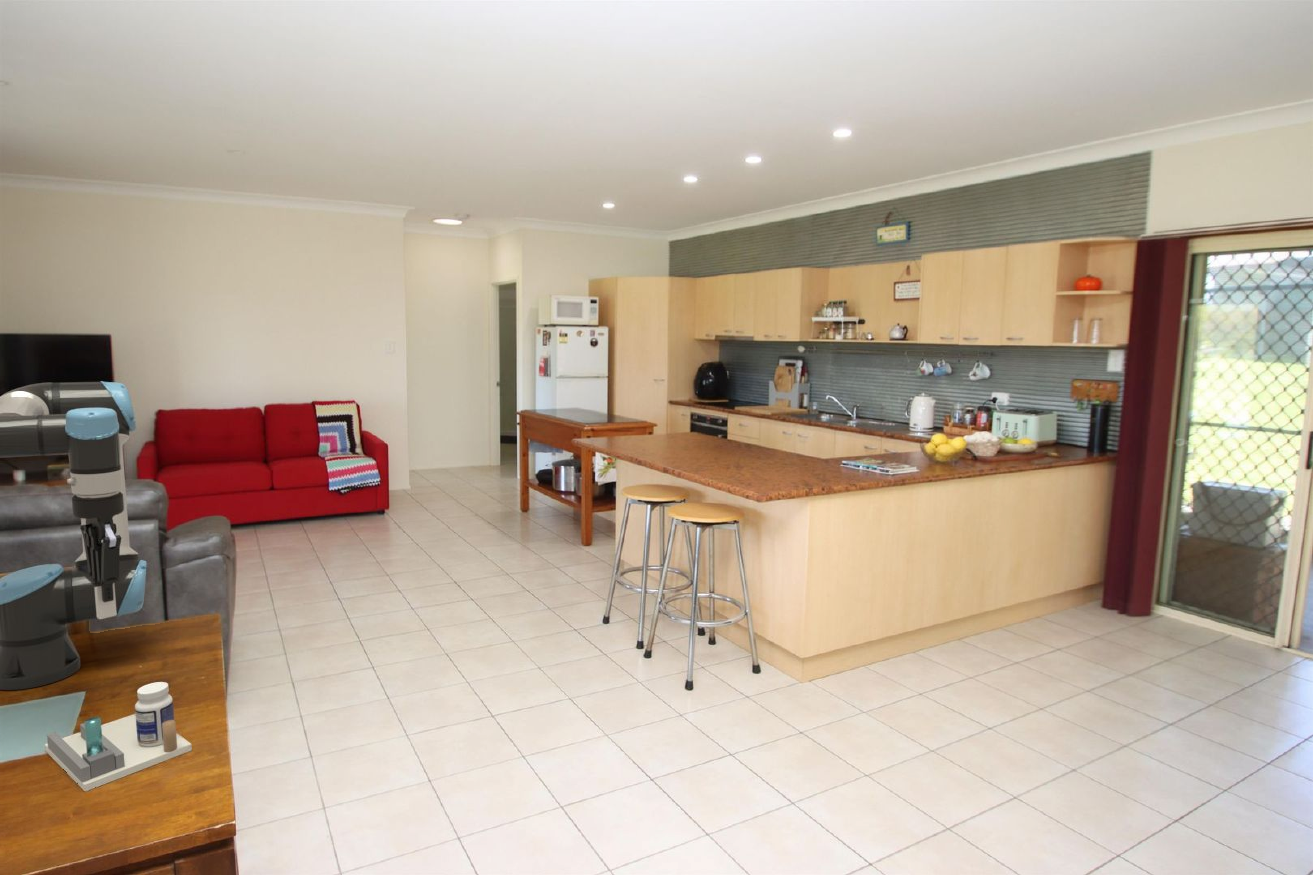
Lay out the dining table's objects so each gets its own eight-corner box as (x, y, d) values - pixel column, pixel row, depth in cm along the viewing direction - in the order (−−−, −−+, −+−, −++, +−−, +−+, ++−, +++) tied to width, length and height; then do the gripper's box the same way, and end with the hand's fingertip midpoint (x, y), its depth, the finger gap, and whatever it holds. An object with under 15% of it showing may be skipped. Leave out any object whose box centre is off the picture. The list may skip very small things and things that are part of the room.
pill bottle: (169, 727, 140) (165, 677, 139) (180, 738, 137) (176, 686, 135) (132, 739, 136) (129, 687, 135) (143, 751, 132) (139, 697, 131)
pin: (83, 767, 127) (79, 720, 126) (102, 760, 129) (99, 714, 128) (89, 773, 125) (85, 725, 124) (109, 765, 128) (105, 719, 127)
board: (45, 750, 134) (42, 717, 133) (146, 715, 147) (144, 685, 146) (84, 791, 122) (82, 755, 122) (191, 750, 135) (189, 717, 134)
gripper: (60, 490, 138) (70, 612, 141) (85, 503, 130) (95, 632, 134) (108, 484, 144) (117, 601, 147) (135, 496, 136) (143, 619, 140)
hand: (106, 616), depth 140 cm, fingers closed
